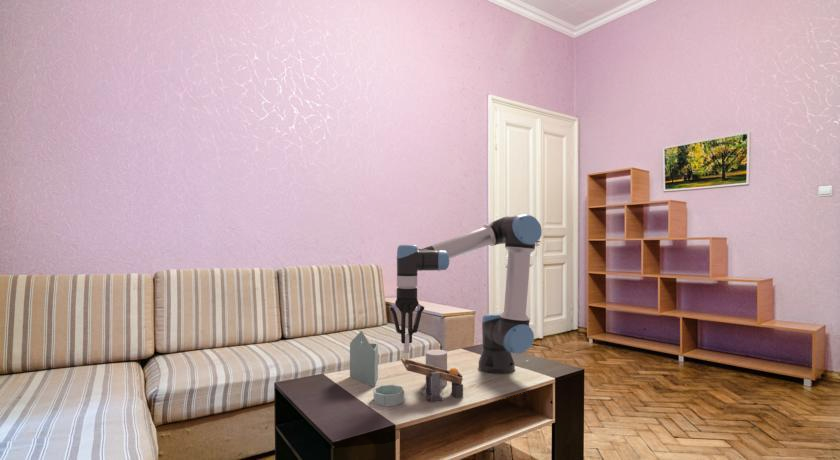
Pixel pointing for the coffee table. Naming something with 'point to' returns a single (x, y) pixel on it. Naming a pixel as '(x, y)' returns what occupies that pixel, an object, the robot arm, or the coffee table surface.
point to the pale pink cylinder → (437, 361)
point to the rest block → (457, 390)
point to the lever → (430, 370)
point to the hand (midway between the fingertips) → (406, 352)
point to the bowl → (388, 395)
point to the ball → (454, 372)
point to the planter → (364, 360)
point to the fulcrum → (433, 387)
